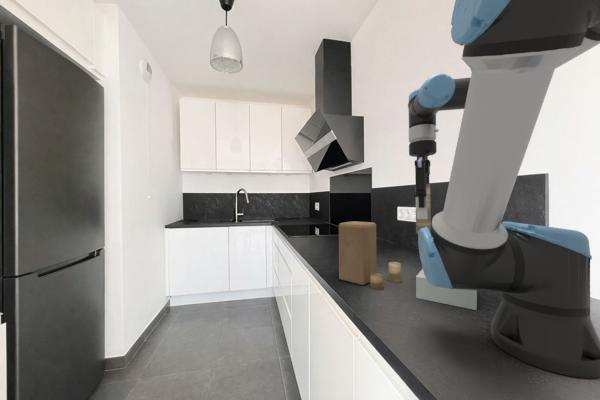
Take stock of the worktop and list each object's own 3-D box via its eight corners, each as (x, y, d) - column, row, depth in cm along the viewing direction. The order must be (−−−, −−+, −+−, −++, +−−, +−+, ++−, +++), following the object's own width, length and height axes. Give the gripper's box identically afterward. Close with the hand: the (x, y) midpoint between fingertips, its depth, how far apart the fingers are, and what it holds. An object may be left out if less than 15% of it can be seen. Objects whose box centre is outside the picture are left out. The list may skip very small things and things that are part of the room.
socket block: (476, 310, 62) (476, 286, 62) (416, 297, 70) (416, 276, 70) (476, 293, 74) (476, 272, 74) (424, 284, 82) (424, 265, 82)
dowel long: (430, 234, 72) (429, 183, 73) (415, 234, 75) (414, 184, 75) (431, 233, 76) (430, 184, 76) (417, 232, 78) (416, 185, 78)
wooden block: (337, 279, 87) (337, 222, 87) (352, 273, 94) (352, 220, 94) (363, 286, 80) (363, 224, 80) (377, 279, 87) (377, 222, 87)
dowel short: (380, 290, 76) (380, 277, 76) (368, 288, 79) (368, 275, 79) (384, 286, 80) (384, 274, 80) (372, 284, 82) (372, 272, 82)
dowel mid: (399, 283, 83) (399, 265, 83) (387, 281, 85) (387, 263, 85) (402, 280, 86) (402, 263, 86) (390, 278, 88) (390, 261, 88)
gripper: (433, 133, 66) (434, 220, 66) (438, 145, 81) (439, 217, 80) (403, 137, 71) (404, 219, 70) (413, 148, 85) (414, 217, 84)
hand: (423, 218), depth 75 cm, fingers closed on dowel long, 4 cm apart
